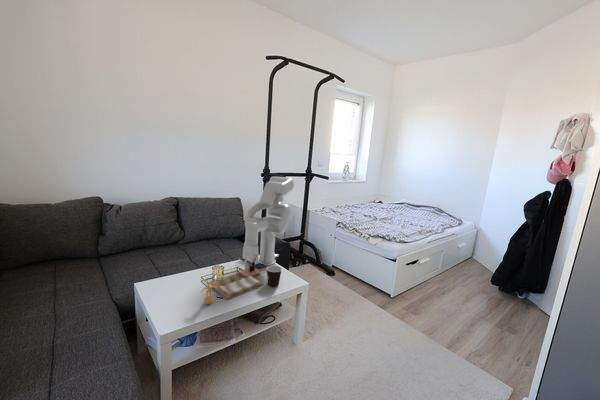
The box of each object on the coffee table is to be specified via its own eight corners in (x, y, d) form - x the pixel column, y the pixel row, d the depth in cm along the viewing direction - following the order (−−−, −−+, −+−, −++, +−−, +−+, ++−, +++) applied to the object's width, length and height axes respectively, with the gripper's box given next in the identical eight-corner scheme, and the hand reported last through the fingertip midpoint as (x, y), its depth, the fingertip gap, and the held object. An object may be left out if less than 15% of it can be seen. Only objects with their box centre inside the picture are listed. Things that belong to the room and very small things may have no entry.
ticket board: (244, 273, 170) (244, 269, 170) (263, 285, 158) (263, 281, 158) (208, 285, 153) (208, 281, 152) (226, 300, 141) (226, 295, 140)
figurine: (215, 299, 140) (216, 278, 138) (218, 306, 135) (219, 283, 133) (198, 303, 136) (198, 280, 134) (200, 309, 131) (200, 286, 129)
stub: (252, 268, 174) (253, 258, 172) (260, 272, 169) (260, 261, 168) (239, 273, 167) (240, 262, 165) (246, 277, 162) (247, 266, 161)
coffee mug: (279, 289, 156) (281, 272, 154) (264, 287, 156) (265, 271, 154) (281, 279, 167) (282, 263, 165) (267, 277, 167) (268, 262, 165)
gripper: (238, 238, 167) (236, 267, 170) (255, 247, 156) (253, 277, 159) (248, 236, 172) (246, 263, 176) (265, 244, 161) (263, 273, 165)
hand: (250, 269), depth 168 cm, fingers closed on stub, 3 cm apart
